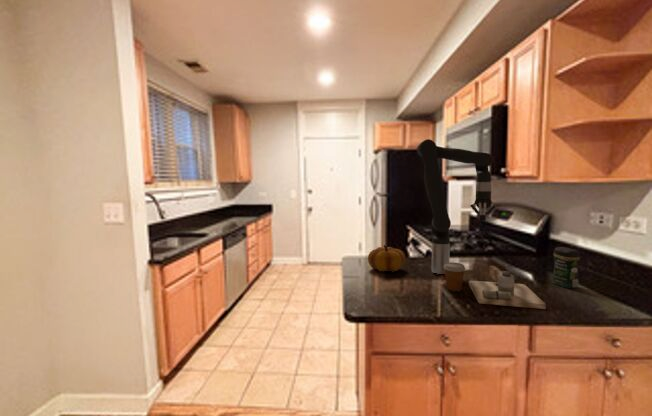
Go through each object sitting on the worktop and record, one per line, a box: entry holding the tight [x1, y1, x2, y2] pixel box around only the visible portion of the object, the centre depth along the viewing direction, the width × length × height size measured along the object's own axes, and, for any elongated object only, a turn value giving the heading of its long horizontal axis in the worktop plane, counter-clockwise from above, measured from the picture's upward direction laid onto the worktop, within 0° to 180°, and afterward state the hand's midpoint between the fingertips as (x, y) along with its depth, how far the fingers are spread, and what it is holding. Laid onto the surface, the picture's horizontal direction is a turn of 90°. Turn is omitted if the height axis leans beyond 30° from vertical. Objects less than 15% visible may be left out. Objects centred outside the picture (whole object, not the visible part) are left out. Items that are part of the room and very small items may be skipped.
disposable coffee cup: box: [444, 261, 466, 292], centre depth 140 cm, size 10×10×12 cm
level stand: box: [468, 280, 547, 310], centre depth 132 cm, size 24×24×5 cm
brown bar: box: [489, 265, 515, 296], centre depth 134 cm, size 19×6×10 cm, turn 170°
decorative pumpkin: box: [367, 244, 406, 273], centre depth 174 cm, size 20×22×15 cm
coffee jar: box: [552, 246, 581, 289], centre depth 142 cm, size 10×8×19 cm
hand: (482, 221), depth 162 cm, fingers closed
